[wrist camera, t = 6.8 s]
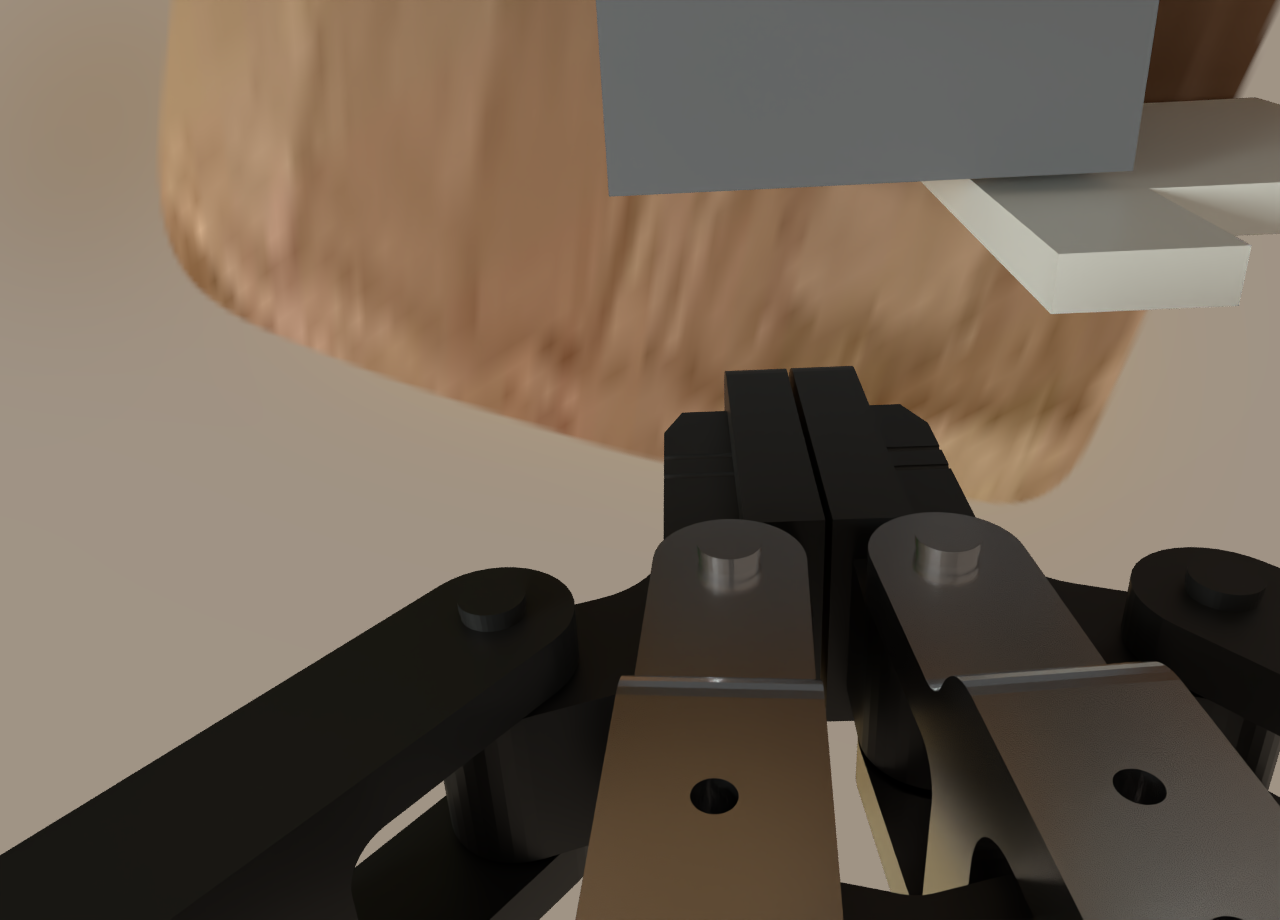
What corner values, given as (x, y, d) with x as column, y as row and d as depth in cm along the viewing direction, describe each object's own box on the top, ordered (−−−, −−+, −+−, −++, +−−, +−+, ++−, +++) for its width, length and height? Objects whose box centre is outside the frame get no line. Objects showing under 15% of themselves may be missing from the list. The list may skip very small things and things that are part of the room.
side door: (895, 116, 29) (1058, 253, 17) (1255, 97, 28) (1687, 225, 16) (892, 156, 29) (1049, 319, 17) (1247, 139, 29) (1659, 293, 17)
